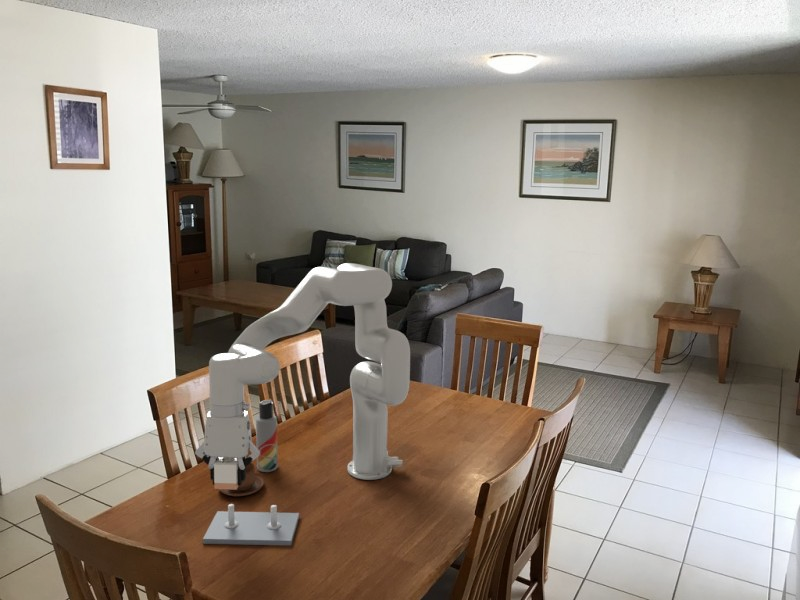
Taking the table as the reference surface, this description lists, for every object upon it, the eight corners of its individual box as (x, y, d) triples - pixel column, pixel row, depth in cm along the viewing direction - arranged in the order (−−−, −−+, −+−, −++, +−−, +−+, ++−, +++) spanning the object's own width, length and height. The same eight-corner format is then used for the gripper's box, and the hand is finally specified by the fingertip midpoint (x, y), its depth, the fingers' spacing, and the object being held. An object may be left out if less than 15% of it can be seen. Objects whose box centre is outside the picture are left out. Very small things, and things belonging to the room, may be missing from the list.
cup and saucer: (214, 482, 178) (214, 461, 177) (259, 475, 183) (258, 454, 181) (221, 504, 167) (220, 481, 166) (268, 495, 172) (268, 473, 170)
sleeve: (241, 479, 155) (241, 455, 154) (236, 489, 150) (236, 465, 149) (220, 478, 155) (220, 455, 154) (214, 488, 150) (214, 464, 149)
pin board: (299, 517, 161) (298, 494, 160) (291, 545, 150) (290, 520, 148) (217, 515, 161) (216, 492, 160) (203, 543, 150) (201, 518, 148)
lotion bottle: (272, 473, 183) (271, 405, 179) (253, 471, 185) (252, 403, 180) (280, 464, 189) (279, 398, 185) (262, 462, 190) (260, 396, 186)
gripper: (268, 403, 153) (268, 476, 156) (194, 401, 153) (196, 474, 156) (261, 415, 145) (261, 491, 149) (184, 412, 145) (186, 489, 149)
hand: (228, 481), depth 153 cm, fingers closed on sleeve, 5 cm apart
